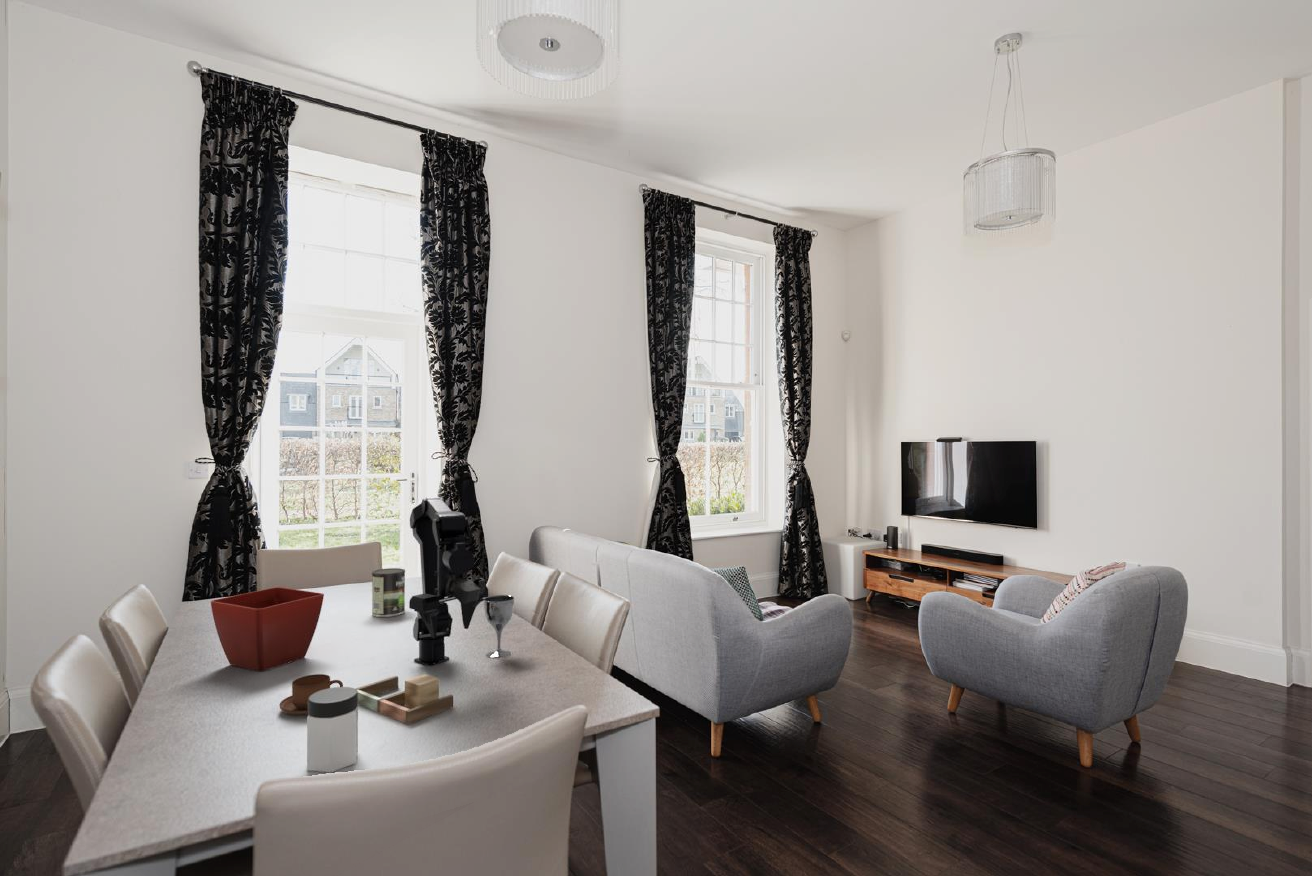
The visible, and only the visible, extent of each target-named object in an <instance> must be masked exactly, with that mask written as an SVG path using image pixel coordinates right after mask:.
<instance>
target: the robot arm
mask: <svg viewBox="0 0 1312 876" xmlns="http://www.w3.org/2000/svg"><path fill="white" fill-rule="evenodd" d="M409 527H410V529H412V530H411V531H412V536H413V537H414V539H415V540H416V542H417V543H418V544H419V550H420V555H419V556H420V571H421V586H422V593H421V594H416V595H412V596H411V597H410V599H409V602H408V603H409V606H408V607H409V609H410V610H411V609H412V610H413V611H414V612H416V613H417V616H416V617H415V620H414V623H413V627H412V635H413V636H412V637H413V638H414V639H415V641H416V642H418V656H419V657H417V658H413V662H415V663H420V664H422V665H426V666H433V665H435V664H438V663H442V662H445V661H448V660H450V657H449V656H446V649H445V648H446V646H445V645H446V644H445V637H446V638H447V637H448V638H449V637H451V634H452V625H453V621H454V620H453V619H454V618H453V617H452V615H451V613H450V612H449V605H448V602H450V601H455V600H458V602H459V603H460V610H461V618H462V619H461V620H462V625H463V628H464V629H466V630H468V629H469V626H470V624H471V622H472V619H473V615H474V613H475V610H476V609H477V606H478V605H479V604H480V603H482V602H484V598H486V597H488V596H489V588H488V586H487V585H486V579H484V578H483V577H477V578H474V579H469V578H468V573H469V571H471V569H472V568H473V567H474V564H475V557H474V554H473V553H472V551H471V550H469V549H468V548H466V547H467V546H466V545H467V544H472V542H473V530H472V528H471V523H470V521H469V520H468V518H467V517H466V515H465V514H464V513H463V512H460V511H453V510H451V508H450V507H449V506H448V505H447V504H446V503H445V499H444V498H443V497H439V496H437V497H425V498H423V499H422V501H421V503H419V504H417V506H415V507H413V508H412V509H411V513H410V517H409Z"/></svg>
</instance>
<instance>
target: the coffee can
mask: <svg viewBox="0 0 1312 876" xmlns="http://www.w3.org/2000/svg"><path fill="white" fill-rule="evenodd" d="M405 574H406V570H405V568H399V567H395V568H391V567H389V568H382V569H381V568H380V569H376V570H373V571H372V572H371V575H372V576H371V577H372V579H371V583H372V584H371V587H372V590H371V593H372V594H371V595H372V597H371V599H372V602H371V603H372V604H371V605H372V611H371V615H372V616H373V617H376V618H389V617H391V618H392V617H397V616H400V614H401V615H403V614H405V612H406V611H405V610H406V608H405V607H406V606H405V605H406V604H405V603H406V601H405V599H406V598H405V597H406V596H405V595H406V594H405V593H406V591H405V590H406V589H405V587H406V585H405V583H406V582H405V581H406V579H405V578H406V577H405V576H406V575H405Z"/></svg>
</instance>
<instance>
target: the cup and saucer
mask: <svg viewBox="0 0 1312 876" xmlns="http://www.w3.org/2000/svg"><path fill="white" fill-rule="evenodd" d="M333 684H338V685H339V687H344V684H343V681H341V679H334V680H331V676H330V675H328V674H322V673H321V674H320V673H315V674H307V675H304V676H300V677H298V678H295V679H294V680H293V681H292V682H291V687H292V688H291V689H292V690H291V692H292V693H291V695H290V696H287V697H286V698H284V699H282V700H281V701H280V703H279V709H280V710H281V711H283V713H286V714H288V715H295V716H305V715H307V716H308V708H307V707H308V706H307V705H308V704H307V703H308V698H309V696H311V695H312V694H314V693H315V692H318V691H321V690H324V689H328V688H331V686H332V685H333Z"/></svg>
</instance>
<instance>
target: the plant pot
mask: <svg viewBox="0 0 1312 876" xmlns="http://www.w3.org/2000/svg"><path fill="white" fill-rule="evenodd" d="M324 596H325V594H324V593H323V592H322V593H320V592H315V591H309V590H307V591H306V590H301V589H294V588H293V589H292V588H288V587H281V586H278V587H271V588H265V589H261V590H256V591H252V592H251V591H250V592H247V593H242V594H236V595H231V596H227V597H222V598H221V597H220V598H216V599H213V600H211V601H210V606H211V613H212V618H213V622H214V626H215V629H216V633H217V636H218V640H219V643H220V644H221V647H222V649H223V652H224V655H225V656H226V659H227V661H228V663H229V665H231V666H236V667H240V668H244V669H248V670H250V671H251V670H252V671H257V672H263V671H268V670H271V669H275V668H276V667H281V666H283V665H287V664H289V663H293V662H296V661H298V660H301V659H305V657H306V655H307V653H308V651H309V648H310V646H311V644H312V641H313V638H314V635H315V633H316V629H317V627H318V623H319V619H320V615H321V612H322V607H323V603H324V602H323V601H324Z"/></svg>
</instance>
